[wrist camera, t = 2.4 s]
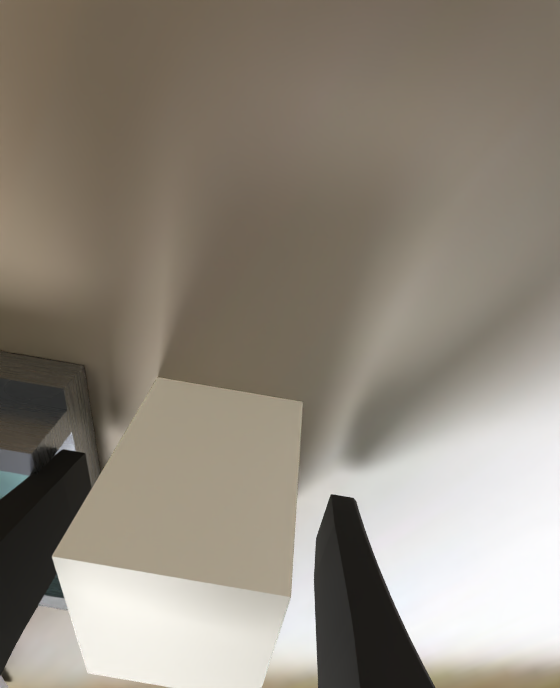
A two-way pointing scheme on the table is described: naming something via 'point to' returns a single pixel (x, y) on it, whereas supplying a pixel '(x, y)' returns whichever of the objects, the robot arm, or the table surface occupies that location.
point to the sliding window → (42, 425)
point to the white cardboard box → (188, 540)
